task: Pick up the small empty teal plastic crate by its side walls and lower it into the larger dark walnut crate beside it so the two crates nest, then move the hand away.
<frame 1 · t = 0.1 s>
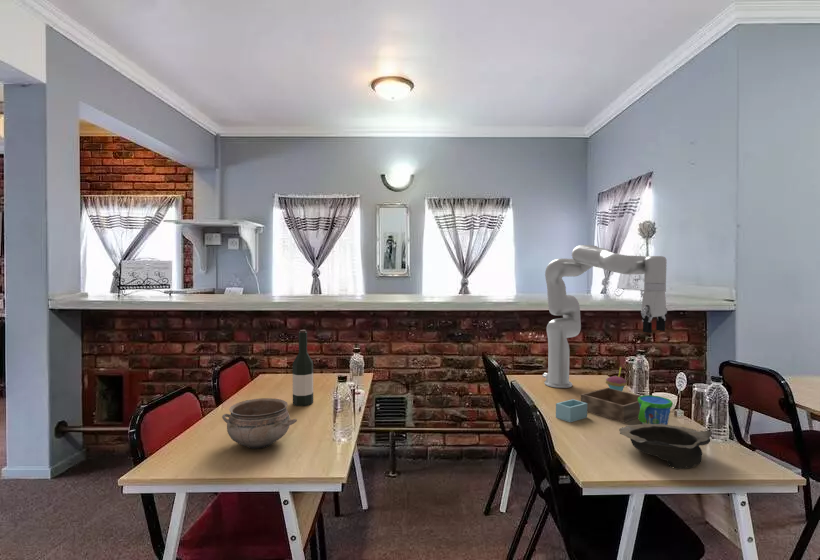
hand: (653, 331, 179), 31 cm above the table, tool pointing down, fingers open, 9 cm apart
small crate: (571, 417, 171), on the table
wine bottle: (303, 403, 188), on the table
big crate: (615, 411, 178), on the table
cooking pot: (259, 445, 144), on the table
cupcake: (615, 392, 206), on the table
stone bowl: (663, 456, 137), on the table
snack cup: (654, 428, 161), on the table
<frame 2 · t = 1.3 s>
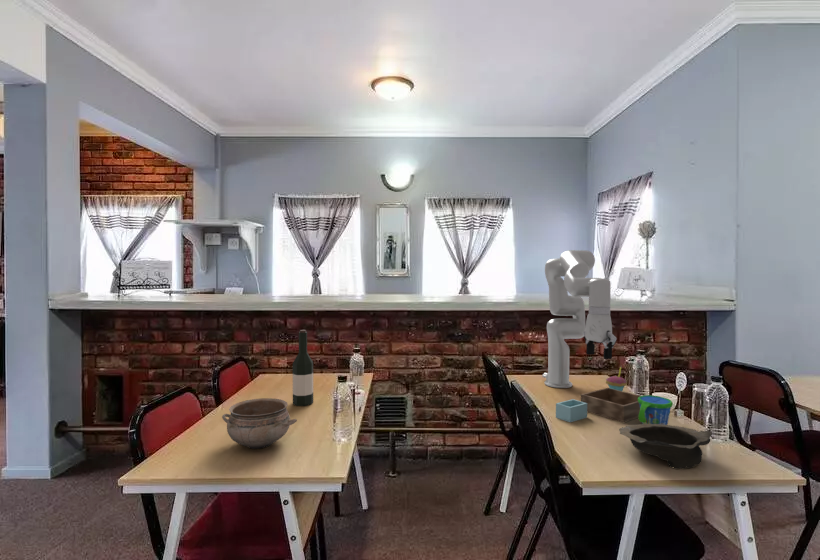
hand: (598, 356, 173), 22 cm above the table, tool pointing down, fingers open, 9 cm apart
nothing on the table moved.
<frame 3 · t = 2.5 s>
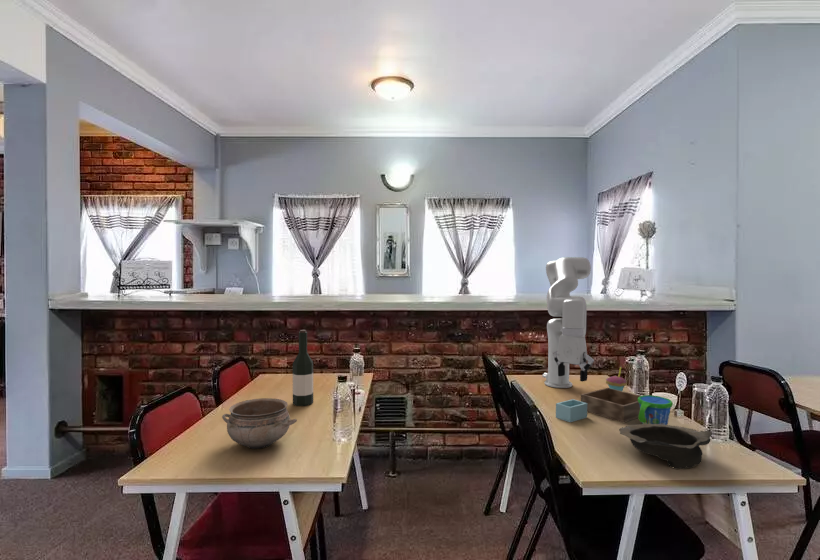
hand: (572, 378, 171), 15 cm above the table, tool pointing down, fingers open, 9 cm apart
nothing on the table moved.
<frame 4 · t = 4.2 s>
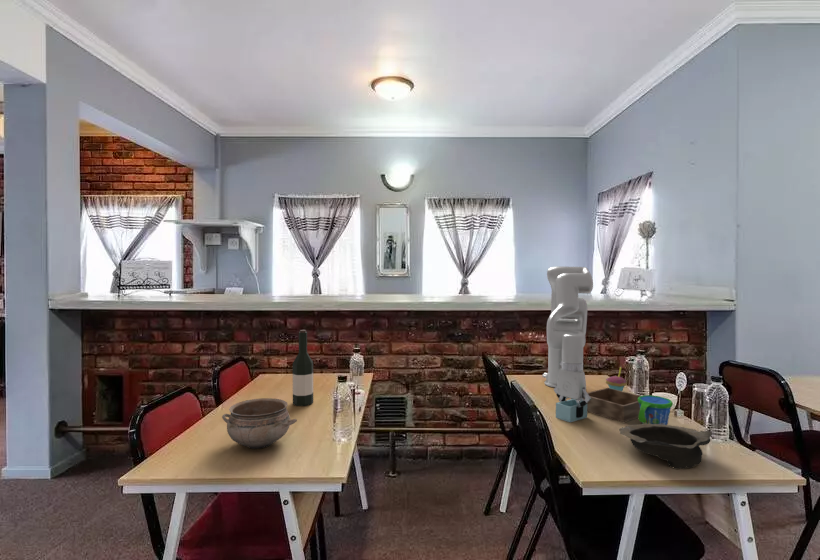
hand: (571, 413, 171), 1 cm above the table, tool pointing down, fingers closed on small crate, 6 cm apart
small crate: (571, 417, 171), on the table, touching gripper
everything else where it was.
when the fingers open (3 cm above the table, at t = 11.0 s): small crate drops 1 cm, resting on big crate.
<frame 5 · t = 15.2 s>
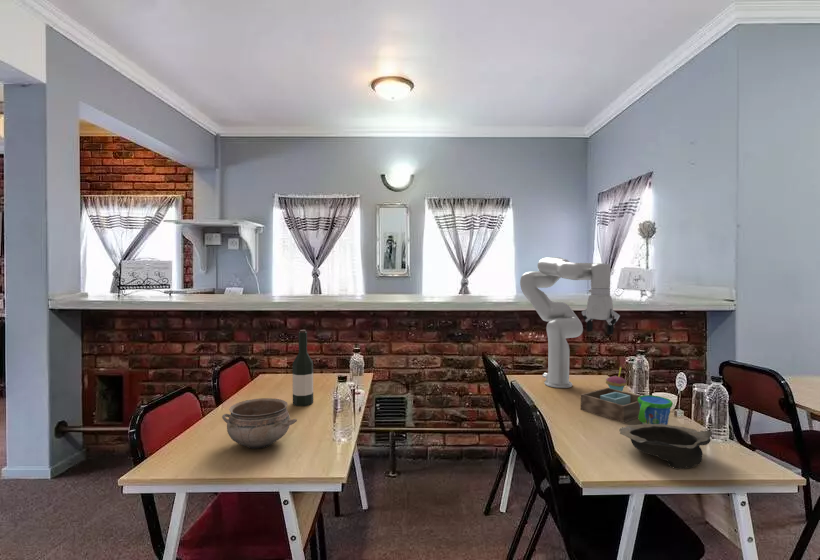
hand: (599, 332, 195), 28 cm above the table, tool pointing down, fingers open, 9 cm apart
small crate: (615, 409, 178), point 1 cm above the table, touching big crate
everything else where it was.
at the end: small crate inside the target area on the big crate (0.0 cm from its centre), point 0.8 cm above the big crate's base; small crate tilted 0°; the gripper is holding nothing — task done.
